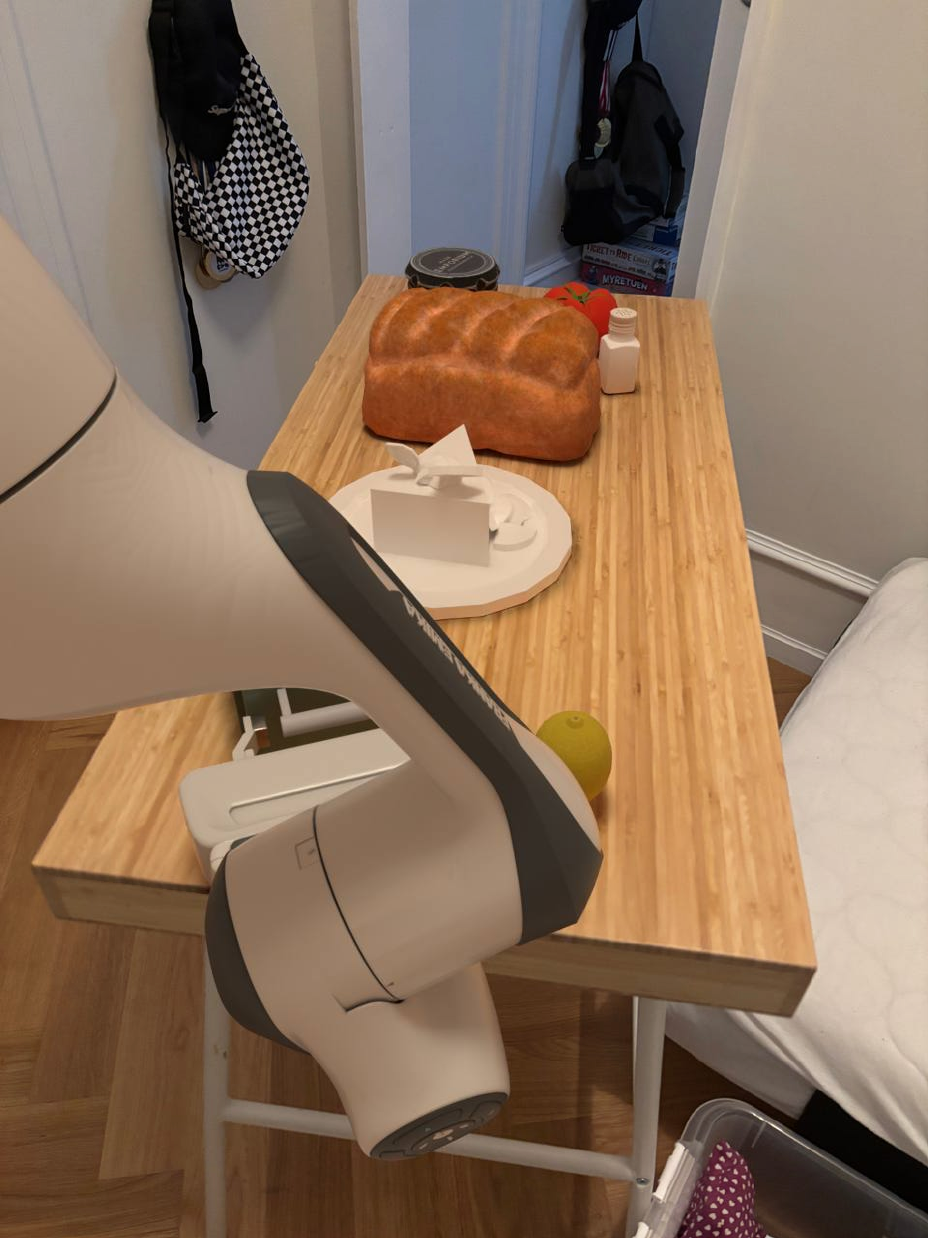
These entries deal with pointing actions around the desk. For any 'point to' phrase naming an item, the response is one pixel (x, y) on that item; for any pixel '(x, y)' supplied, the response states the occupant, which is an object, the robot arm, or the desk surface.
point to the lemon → (580, 748)
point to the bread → (484, 372)
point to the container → (453, 269)
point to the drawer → (304, 716)
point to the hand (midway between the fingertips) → (322, 706)
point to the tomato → (587, 304)
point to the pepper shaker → (619, 352)
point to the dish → (459, 528)
